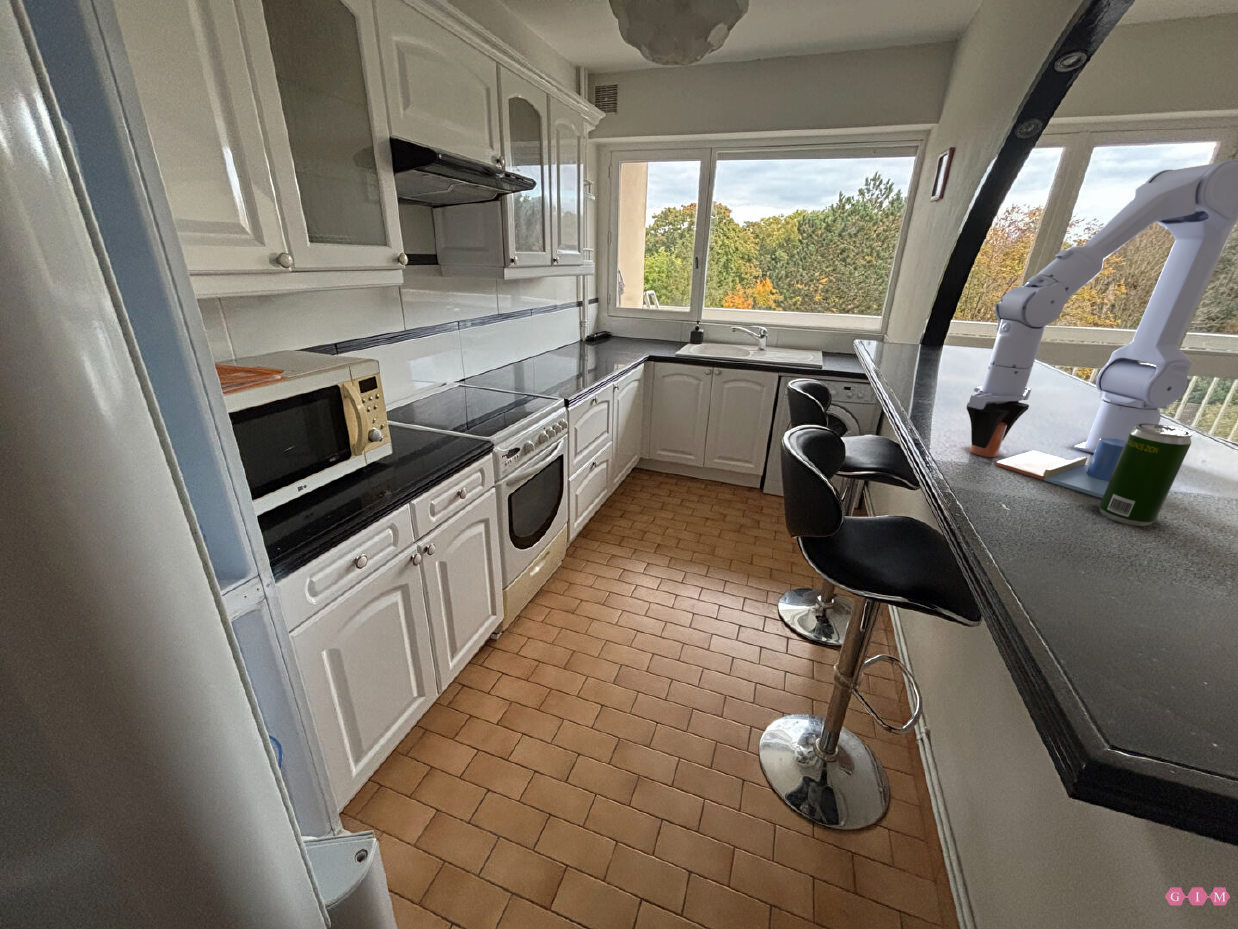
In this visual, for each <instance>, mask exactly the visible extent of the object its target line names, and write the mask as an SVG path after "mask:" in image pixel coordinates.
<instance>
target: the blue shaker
mask: <svg viewBox="0 0 1238 929" xmlns="http://www.w3.org/2000/svg"><path fill="white" fill-rule="evenodd" d="M1125 442H1126V441H1123V440H1118V439H1111V438H1101V439H1100V440H1099V442H1098V445H1097V447H1096V450H1095V452H1094V453H1093V455H1092V457H1091V460H1090V463H1089V465H1088V466H1089V468H1088V470H1087V474H1088V475H1089V476H1091V477H1094V478H1097V479H1101V480H1105V481H1110V479H1111V476H1112V474H1113V472H1114V469H1115V467H1116V464H1117V462H1118V459H1119V457H1120V455H1121V452H1122V450H1123V447H1124V445H1125Z"/></svg>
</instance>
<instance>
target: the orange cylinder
mask: <svg viewBox="0 0 1238 929" xmlns="http://www.w3.org/2000/svg"><path fill="white" fill-rule="evenodd" d="M1006 427H1007V424H1006V423H1004V422H1000V423H999V424H998V426H997V428H996V429H995V431H994V434H993V436H992V438H991V440H990V442H989V444H988V446H987V447H986V448H981V447H978V446H974V445H972V444H970V448H969V453H972V454H974V455H977V456H980V457H985V458H996V457H998V455H999V452H1000V449H1001V446H1002V443H1003V441H1004V440H1003V437H1004V433H1005V430H1006ZM1002 440H1003V441H1002Z"/></svg>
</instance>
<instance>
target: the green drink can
mask: <svg viewBox="0 0 1238 929" xmlns="http://www.w3.org/2000/svg"><path fill="white" fill-rule="evenodd" d="M1192 437H1193V432H1190V431H1189V430H1186V429H1183V428H1180V427H1176V426H1171V425H1164V424H1160V423H1159V424H1149V423H1138V424H1136V425H1135V428H1134V429H1132V430H1131V431H1130V433H1129V435H1128V438H1127V440H1126V442H1125V445H1124V447H1123V450H1122V452H1121V455H1120V457H1119V459H1118V462H1117V464H1116V467H1115V469H1114V472H1113V474H1112V476H1111V479H1110V481H1109V484H1108V486H1107V489H1106V491H1105V493H1104V496H1103V498H1101V500H1100V503H1099V512H1100V514H1101V515H1103V517H1106V518H1107V519H1109V520H1111V521H1115V522H1117V523H1121V524H1125V525H1129V526H1135V527H1147V526H1150V525H1152V524H1153V523H1154V522H1156V520H1157V518H1158V516H1159V514H1160V512H1161V510H1162V507H1163V505H1164V503H1165V501H1166V499H1167V497H1168V495H1169V492H1170V490H1171V488H1172V486H1173V484H1174V482H1175V480H1176V477H1177V475H1178V474H1179V471H1180V469H1181V467H1182V465H1183V462H1184V460H1185V458H1186V457H1187V456H1186V455H1187V453H1188V452H1189V450H1190V447H1191V445H1192V439H1191V438H1192Z"/></svg>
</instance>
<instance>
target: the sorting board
mask: <svg viewBox="0 0 1238 929" xmlns="http://www.w3.org/2000/svg"><path fill="white" fill-rule="evenodd" d="M1087 460H1088V457H1086V456H1081V457H1080V456H1079V457H1077V458H1074V459H1071V460H1070V459H1066V458H1063V457H1059V456H1054V455H1051V454H1047V453H1044V452H1041V451H1038V450H1031V451H1030V450H1029V451H1027V452H1024V453H1020V454H1015V455H1013V456H1010V457H1007V458H1006V457H1005V458H1003V459H1000V460H997V461H995V462H994V464H993V465H994V466H995V467H999V468H1003V469H1006V470H1009V471H1013V472H1015V473H1018V474H1022V475H1025V476H1028V477H1031V478H1035V479H1038V480H1041V481H1044V482H1048V483H1051V484H1054V485H1057V486H1060V487H1064V488H1066V489H1070V490H1073V491H1077V492H1079V493H1082V494H1087V495H1089V496H1092V497H1096V498H1099V499H1102V498H1103V496H1104V493H1105V491H1106V489H1107V486H1108V484H1109V481H1105V480H1101V479H1097V478H1094V477H1091V476H1089V475H1088V474H1087V470H1088V468H1089V465H1088V464H1087Z"/></svg>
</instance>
